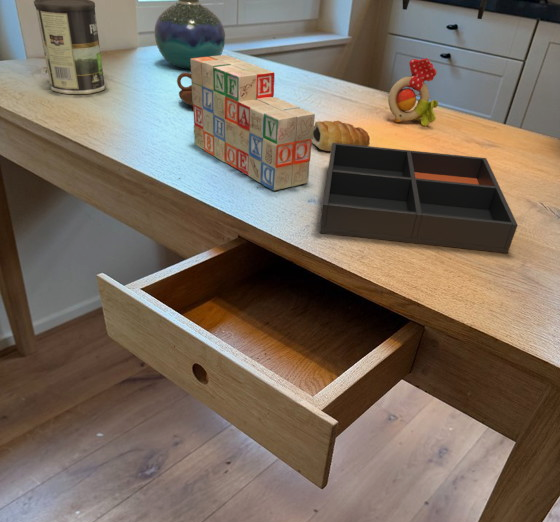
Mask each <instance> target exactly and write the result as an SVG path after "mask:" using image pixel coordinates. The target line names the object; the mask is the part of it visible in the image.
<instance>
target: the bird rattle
mask: <svg viewBox="0 0 560 522" xmlns="http://www.w3.org/2000/svg"><path fill="white" fill-rule="evenodd" d="M408 63H409V69H410V73H411V75H409V76H404V77H402V78H400V79H398V80H397V81H396V82H395V83H394V84H393V86H392V87H391V88H390V90H389V93H388V101H387V102H388V107H389V110H390V113H391V114H392V116H394V121H395V123H401V122H403V121H404V122H405V121H406V122H407V121H413V120H414V121H415V122H416V121H418V120H420V119H421V120H420V125H421V126H422V127H427V126H428V125H429V123H433V122H435V121H436V119H437V117H436V115H435V112H434V109H435V108H437V107H438V106H439V101H437V100H436V99H431V101H430V91H429V88H428V85H427V84H426V81H427V82H431V81H434V77H436V75H437V74H438V73H437V72H438V71H437V69H435V68H434V64H433V62H432V63H431V61H430V59H429V58H428V57H426V58H422V59H417V58H413V59H411V60H409V62H408ZM415 91H416V92H418V94H416V92H415ZM418 96H419V99H418V101H417V97H418ZM416 102H417V103H416ZM415 105H416V106H415Z"/></svg>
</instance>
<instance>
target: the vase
mask: <svg viewBox="0 0 560 522" xmlns="http://www.w3.org/2000/svg"><path fill="white" fill-rule="evenodd" d="M154 40H155V43H156V47H157V49H158V51H159V54H160V55H161V57H163V58H164V60H165V61H166V62H167V63H169V64H170V65H172V66H174V67H177V68H180V69H186V70H191V61H190V59H191V58H200V57H210V56H221V55H223V52H224V48H225V44H226V31H225V27H224V25H223V23H222V21H221V19H220V18H219V17H218V15H217V14H216V13H214V12H213V11H212V10H211V9H210V8H208V7H207V6H205V5H204V4H202V3H201V2H200V0H178V1H176V2H175V3H173V4H171V5H170V6H169V7H167V8H166V9H165V10H163V11H162V12H161V14H159V16H158V17H157V19H156V21H155V25H154Z"/></svg>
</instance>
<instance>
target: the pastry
mask: <svg viewBox="0 0 560 522" xmlns="http://www.w3.org/2000/svg"><path fill="white" fill-rule="evenodd" d="M370 140H371V139H370V136H369V133H368V131H366V130H365V129H364V128H362V127H361V126H357V127H355V126H354V125H353V124H350V123H346V122H342V121H341V120H334V121H331V120H323V121H319V120H318V121H315V122H314V130H313V137H312V144H313V145H314V146H316V147H317V148H318V149H319V150H321V151H325V152H331V147H332V143H340V144H350V145H360V146H370Z"/></svg>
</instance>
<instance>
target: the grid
mask: <svg viewBox="0 0 560 522" xmlns="http://www.w3.org/2000/svg"><path fill="white" fill-rule="evenodd" d="M327 169H328V170H327V175H326V181H325V188H324V195H323V201H322V209H321V217H320V226H319V234H326V235H336V236H346V237H354V238H362V239H371V240H373V239H374V240H383V241H391V242H392V241H393V242H402V243H410V244H419V245H426V246H427V245H428V246H438V247H447V248H455V249H456V248H457V249H464V250H474V251H483V252H492V253H502V254H508V253H509V250H510V248H511V245H512V242H513V239H514V237H515V234H516V230H517V229H518V223H517V221H516V219H515V217H514V214H513V211H512V209H511V208H510V206H509V203H508V200H507V199H506V197H505V195H504V192H503V191H502V188H501V187H500V184H499V183H498V180H497V177H496V176H495V173H494V172H493V170H492V168H491V165H490V163H489V161H488V159H487V158H486V157H478V156H469V155H458V154H450V153H440V152H439V153H437V152H430V151H429V152H428V151H419V150H410V149H400V148H399V149H398V148H389V147H379V146H370V145H368V146H360V145H350V144H340V143H332V147H331V151H330V153H329V161H328V168H327Z"/></svg>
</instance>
